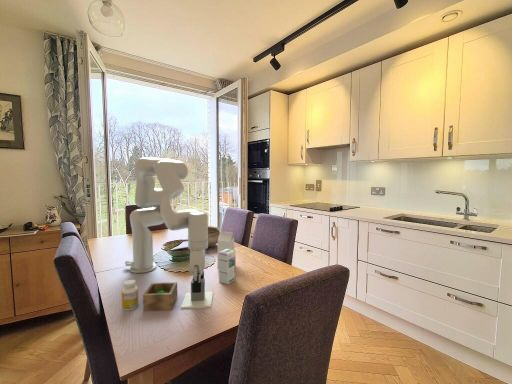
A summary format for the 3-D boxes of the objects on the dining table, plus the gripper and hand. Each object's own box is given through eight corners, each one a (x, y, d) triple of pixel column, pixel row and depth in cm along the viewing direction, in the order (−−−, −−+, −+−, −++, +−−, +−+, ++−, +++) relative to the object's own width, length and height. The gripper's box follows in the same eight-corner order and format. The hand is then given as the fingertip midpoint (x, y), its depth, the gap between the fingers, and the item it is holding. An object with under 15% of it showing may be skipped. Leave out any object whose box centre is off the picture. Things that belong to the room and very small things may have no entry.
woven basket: (220, 241, 182) (220, 225, 181) (228, 248, 165) (228, 230, 164) (185, 244, 172) (185, 227, 171) (190, 253, 155) (190, 234, 154)
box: (143, 311, 90) (142, 295, 89) (152, 297, 100) (151, 282, 99) (171, 309, 91) (171, 294, 90) (177, 296, 101) (177, 282, 100)
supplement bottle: (126, 303, 95) (125, 279, 94) (140, 303, 95) (140, 278, 94) (119, 311, 89) (118, 285, 89) (135, 310, 90) (134, 285, 89)
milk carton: (230, 269, 129) (230, 234, 128) (217, 268, 130) (217, 233, 129) (234, 264, 136) (234, 230, 134) (221, 263, 137) (221, 230, 136)
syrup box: (228, 284, 111) (228, 253, 110) (218, 281, 115) (218, 251, 113) (235, 280, 116) (236, 250, 115) (226, 277, 119) (226, 248, 118)
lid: (181, 309, 92) (180, 287, 91) (186, 294, 102) (186, 275, 102) (210, 308, 93) (210, 286, 92) (213, 293, 104) (213, 274, 103)
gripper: (191, 238, 104) (192, 277, 105) (183, 251, 87) (184, 297, 88) (209, 237, 105) (209, 276, 106) (205, 250, 88) (205, 297, 89)
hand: (198, 286), depth 97 cm, fingers open, 9 cm apart
